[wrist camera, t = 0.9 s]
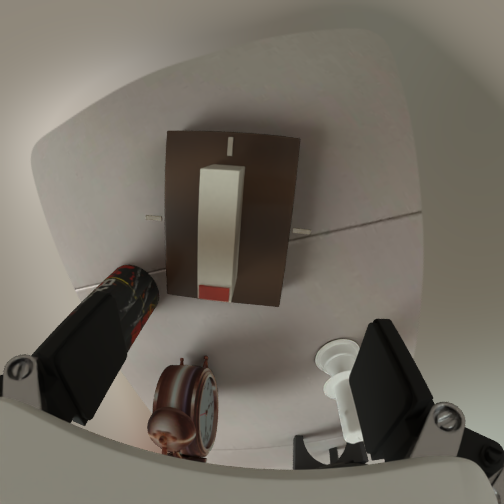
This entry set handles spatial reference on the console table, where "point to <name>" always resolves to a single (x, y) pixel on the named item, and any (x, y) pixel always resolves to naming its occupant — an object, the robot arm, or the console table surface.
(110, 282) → the deodorant
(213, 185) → the dial
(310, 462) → the planter
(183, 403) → the alarm clock
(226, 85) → the console table surface
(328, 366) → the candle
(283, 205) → the panel
